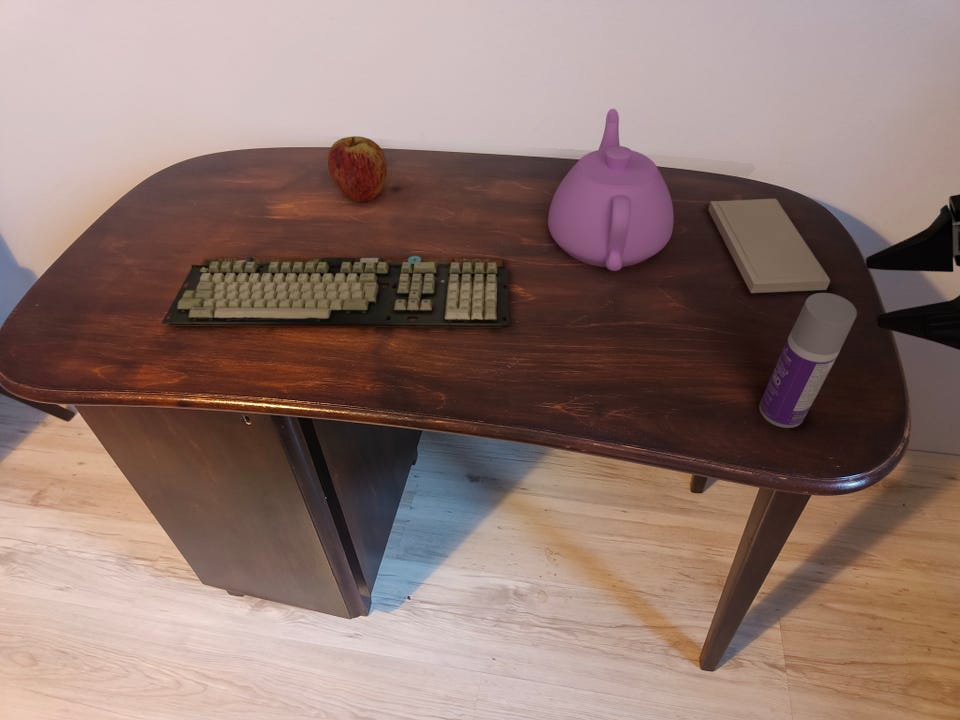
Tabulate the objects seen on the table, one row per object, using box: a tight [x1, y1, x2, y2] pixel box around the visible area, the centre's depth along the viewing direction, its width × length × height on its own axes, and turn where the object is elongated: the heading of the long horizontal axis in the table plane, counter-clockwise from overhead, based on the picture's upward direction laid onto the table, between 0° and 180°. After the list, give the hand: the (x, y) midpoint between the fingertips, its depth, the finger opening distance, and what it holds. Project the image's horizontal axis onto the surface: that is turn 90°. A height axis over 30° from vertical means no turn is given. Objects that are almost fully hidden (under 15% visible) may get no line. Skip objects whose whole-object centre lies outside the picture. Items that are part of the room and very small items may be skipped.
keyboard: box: [161, 255, 511, 329], centre depth 86 cm, size 45×15×2 cm, turn 88°
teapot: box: [547, 108, 675, 272], centre depth 90 cm, size 25×18×14 cm
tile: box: [708, 198, 831, 294], centre depth 90 cm, size 20×10×2 cm, turn 2°
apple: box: [327, 135, 388, 203], centre depth 100 cm, size 9×9×10 cm
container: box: [758, 292, 858, 429], centre depth 64 cm, size 5×5×15 cm
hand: (871, 290), depth 59 cm, fingers open, 9 cm apart
